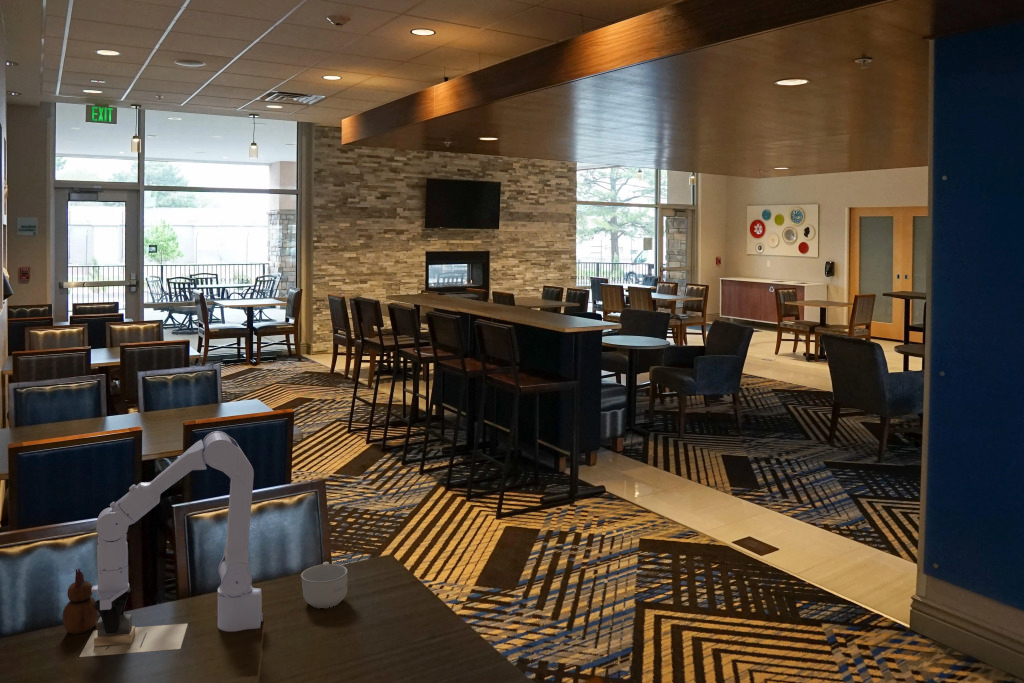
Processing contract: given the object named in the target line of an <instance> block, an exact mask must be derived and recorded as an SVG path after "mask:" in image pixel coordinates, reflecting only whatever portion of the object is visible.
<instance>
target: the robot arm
mask: <svg viewBox="0 0 1024 683" xmlns="http://www.w3.org/2000/svg"><path fill="white" fill-rule="evenodd" d="M207 465H208V466H210V467H211V468H213V469H215V470H216V471H217V470H218V471H220V472H223V473H224V474H225V475H226V476H228V477H229V479H230V483H229V487H230V488H229V495H228V496H229V498H228V511H227V526H226V538H225V546H224V550H223V556H222V559H221V560H220V562H219V564H218V569H217V570H218V575H219V577H220V581H221V582H220V585H219V586H218V588H217V628H218V629H219V630H220V631H224V632H239V631H245V630H253V629H256V630H257V629H261V624H262V622H263V617H264V616H263V612H262V596H263V595H262V588H260V587H259V588H258V587H257V588H256V587H253V585H252V582H253V578H252V574H251V572H250V570H249V569H250V568H249V562H250V561H249V543H250V542H249V540H250V527H251V515H252V504H253V491H254V490H253V488H254V477H255V473H254V472H255V471H254V468H253V466H252V464H251V463H250V460H249V459H248V457H247V456H246V455H245V453H244V451H243V450H242V448H241V447H240V446H239V444H238V442H237V441H236V440H235V439H234V438H233V437H231V436H230V435H229V434H228V433H226V432H224V431H221V430H220V431H219V430H215V431H212V432H209V433H208V434H206V436H205V437H204V438H203V439H199V440H198V441H196V442H195V443H194V444H193V445H191V446H190V447H189V448H187V449H186V450H185V452H183V453H181V455H180V456H179V457H177V458H176V459H175V460H174V461H173V462H172V463H171V464H170V465H168V466H167V467H166V468H165V469H164V470H163V471H162V472H160V473H159V474H158V475H157V476H156V477H155V478H154V479H152V480H150V481H148V482H147V481H145V482H139V483H138V484H137V485H136V484H132V485H131V486H130V487H129V488H128V490H129V491H128V492H127V493H126V494H125V495H123V496H122V497H121V498H119V499H118V500H117V501H112V502H111V503H110V504H109V507H107V508H104V509H103V510H101V512H100V513H99V515H98V517H97V520H96V525H95V529H96V530H95V531H96V534H97V543H98V544H97V546H96V553H97V554H96V556H97V557H96V558H97V559H96V560H97V562H96V563H97V566H96V567H97V568H96V569H97V585H93V586H92V589H91V591H92V593H97V596H98V598H99V599H96V600H95V601H96V602H95V608H96V610H97V611H98V615H100V616H99V617H101V618H102V621H103V625H104V628H105V632H106V634H110V633H117V631H118V628H119V622H120V615H125V614H124V613H125V607H126V604H127V600H128V599H129V595H131V594H130V593H131V592H132V588H131V587H130V583H129V548H128V547H129V546H128V544H129V543H128V541H127V533H128V530H129V526H131V525H133V524H135V523H137V522H138V521H139V520H140V519H141V518H142V517H144V516H145V515H147V513H149V512H150V511H151V510H153V509H154V508H155V507H156V506H157V505H159V503H160V501H161V494H162V493H164V492H165V491H166V490H168V489H169V488H170V487H171V486H173V485H174V484H176V483H177V482H178V481H180V480H181V479H183V477H185V476H186V475H188V474H189V473H191V472H192V471H201V470H202V471H203V470H207Z"/></svg>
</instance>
